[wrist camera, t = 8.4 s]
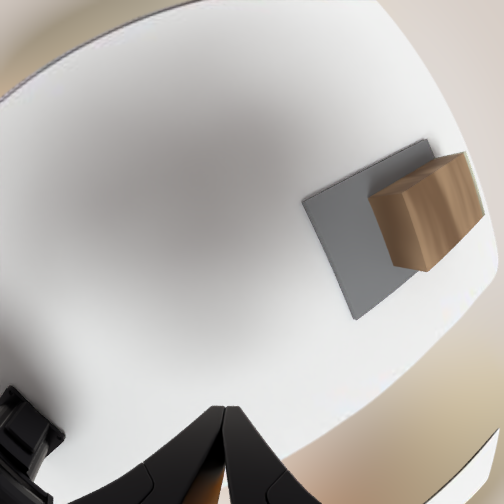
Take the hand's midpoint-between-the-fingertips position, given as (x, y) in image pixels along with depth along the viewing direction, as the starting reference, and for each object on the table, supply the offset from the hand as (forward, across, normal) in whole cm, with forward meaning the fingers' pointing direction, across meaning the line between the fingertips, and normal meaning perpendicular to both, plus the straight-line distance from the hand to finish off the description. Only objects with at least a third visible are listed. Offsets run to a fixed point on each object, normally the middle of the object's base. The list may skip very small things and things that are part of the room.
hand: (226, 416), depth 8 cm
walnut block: (+13, +12, +4) cm, 17 cm away
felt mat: (+16, +13, +4) cm, 21 cm away
